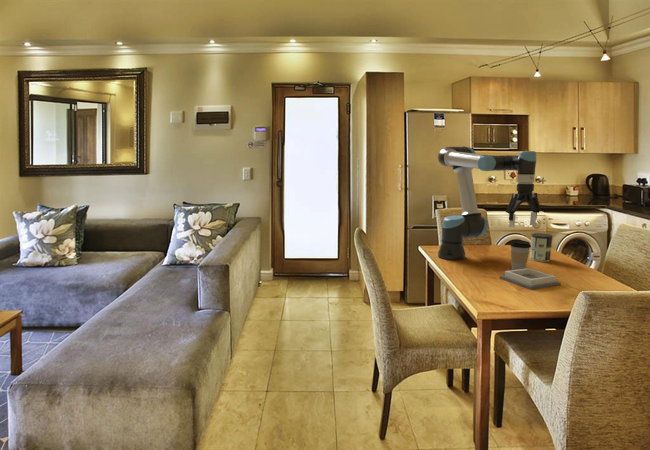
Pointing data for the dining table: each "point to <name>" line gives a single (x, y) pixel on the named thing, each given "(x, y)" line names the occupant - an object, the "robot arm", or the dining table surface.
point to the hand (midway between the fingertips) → (522, 226)
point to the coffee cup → (519, 254)
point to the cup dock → (530, 278)
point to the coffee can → (540, 247)
